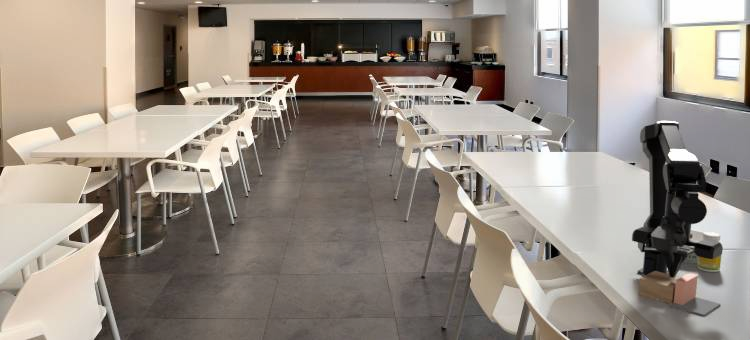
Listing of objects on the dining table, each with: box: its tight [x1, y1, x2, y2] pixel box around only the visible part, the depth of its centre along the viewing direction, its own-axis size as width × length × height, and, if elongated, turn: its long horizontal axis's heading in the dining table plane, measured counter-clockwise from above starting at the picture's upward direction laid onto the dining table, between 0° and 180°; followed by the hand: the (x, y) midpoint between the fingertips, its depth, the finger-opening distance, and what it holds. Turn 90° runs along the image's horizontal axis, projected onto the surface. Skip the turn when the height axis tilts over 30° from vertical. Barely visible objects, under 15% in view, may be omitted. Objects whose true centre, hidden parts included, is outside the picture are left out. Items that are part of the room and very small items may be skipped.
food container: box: [677, 229, 704, 264], centre depth 182 cm, size 12×12×6 cm
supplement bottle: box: [696, 231, 723, 273], centre depth 172 cm, size 5×5×10 cm
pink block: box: [674, 272, 699, 305], centre depth 150 cm, size 7×6×2 cm
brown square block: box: [637, 271, 682, 305], centre depth 155 cm, size 8×8×4 cm
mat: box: [669, 296, 721, 317], centre depth 149 cm, size 9×8×1 cm
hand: (672, 277), depth 153 cm, fingers closed
